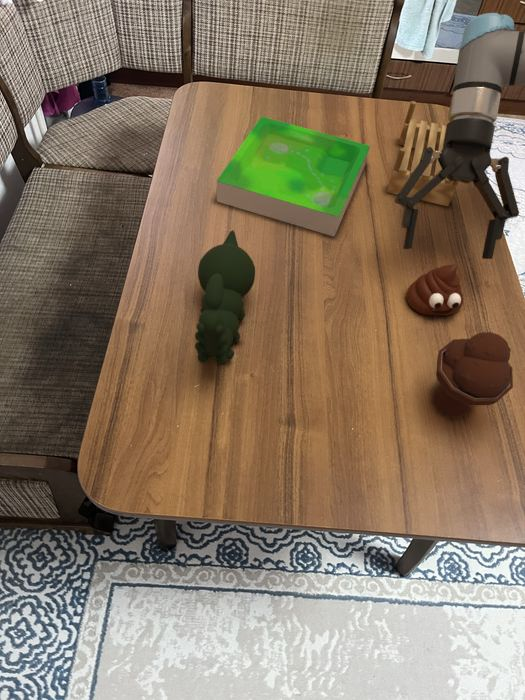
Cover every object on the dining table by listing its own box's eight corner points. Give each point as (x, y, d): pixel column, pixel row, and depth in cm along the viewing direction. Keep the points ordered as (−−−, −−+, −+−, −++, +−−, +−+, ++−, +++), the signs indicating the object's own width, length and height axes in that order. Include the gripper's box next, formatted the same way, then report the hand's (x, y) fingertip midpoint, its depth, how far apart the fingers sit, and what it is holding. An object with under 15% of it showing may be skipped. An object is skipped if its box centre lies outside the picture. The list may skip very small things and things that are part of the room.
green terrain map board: (216, 201, 108) (216, 180, 104) (260, 136, 122) (261, 116, 118) (334, 236, 104) (338, 216, 100) (364, 165, 118) (370, 145, 114)
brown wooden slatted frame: (455, 153, 123) (471, 112, 115) (448, 206, 112) (466, 165, 104) (398, 140, 125) (411, 99, 117) (386, 192, 113) (399, 151, 105)
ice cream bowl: (410, 374, 87) (441, 316, 74) (475, 372, 88) (516, 314, 75) (426, 433, 80) (462, 380, 68) (496, 430, 82) (545, 378, 69)
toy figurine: (242, 386, 85) (257, 264, 98) (244, 321, 69) (263, 185, 81) (183, 379, 85) (207, 259, 98) (172, 313, 69) (202, 178, 81)
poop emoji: (453, 284, 99) (472, 247, 91) (466, 320, 94) (487, 284, 86) (400, 284, 98) (415, 247, 90) (411, 320, 93) (427, 284, 86)
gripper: (536, 137, 91) (510, 262, 94) (390, 119, 91) (370, 244, 94) (558, 126, 83) (530, 262, 87) (400, 106, 84) (378, 243, 87)
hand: (447, 253), depth 91 cm, fingers open, 13 cm apart
